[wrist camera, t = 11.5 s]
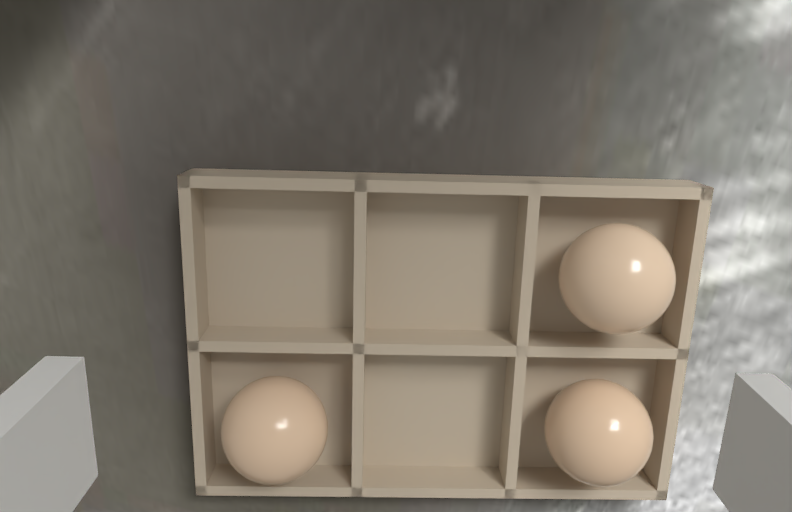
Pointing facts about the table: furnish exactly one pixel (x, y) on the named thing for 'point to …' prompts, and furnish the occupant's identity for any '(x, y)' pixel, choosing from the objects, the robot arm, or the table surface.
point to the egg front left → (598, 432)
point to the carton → (424, 322)
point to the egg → (274, 430)
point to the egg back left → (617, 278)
